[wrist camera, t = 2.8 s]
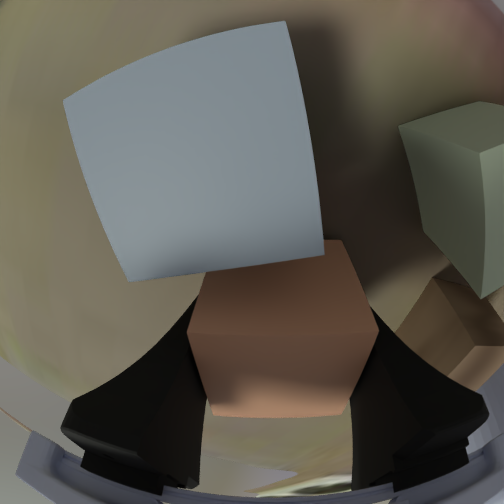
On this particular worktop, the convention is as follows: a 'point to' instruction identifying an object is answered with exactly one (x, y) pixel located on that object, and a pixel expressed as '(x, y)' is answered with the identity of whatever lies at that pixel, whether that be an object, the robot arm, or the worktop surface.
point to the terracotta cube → (282, 336)
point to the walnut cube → (455, 333)
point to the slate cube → (201, 156)
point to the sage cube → (462, 187)
